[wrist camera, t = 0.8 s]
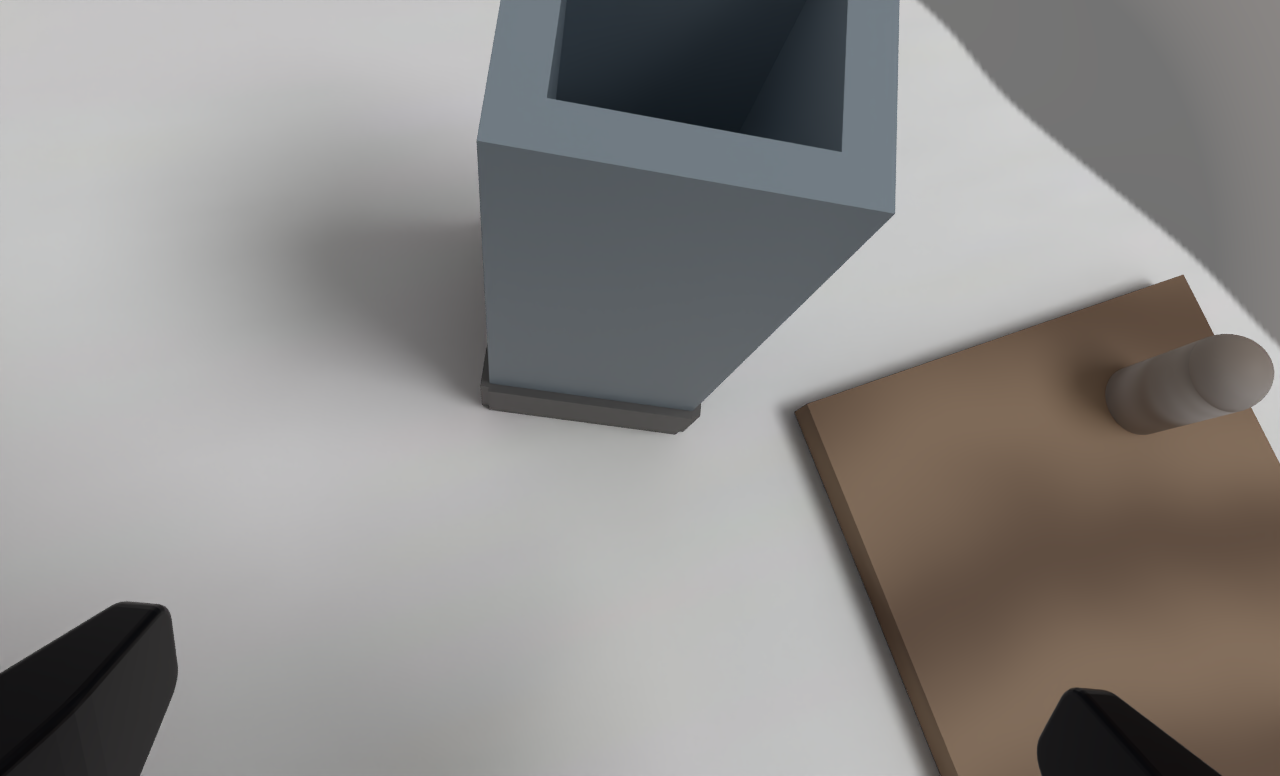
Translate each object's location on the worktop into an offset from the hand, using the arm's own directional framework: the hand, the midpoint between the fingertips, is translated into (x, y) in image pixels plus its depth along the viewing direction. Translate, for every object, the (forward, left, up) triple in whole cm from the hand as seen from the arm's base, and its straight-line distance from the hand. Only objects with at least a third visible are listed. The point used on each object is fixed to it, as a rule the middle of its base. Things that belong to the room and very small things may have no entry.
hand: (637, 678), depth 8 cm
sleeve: (+7, -4, -13) cm, 15 cm away
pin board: (-4, -15, -13) cm, 20 cm away
